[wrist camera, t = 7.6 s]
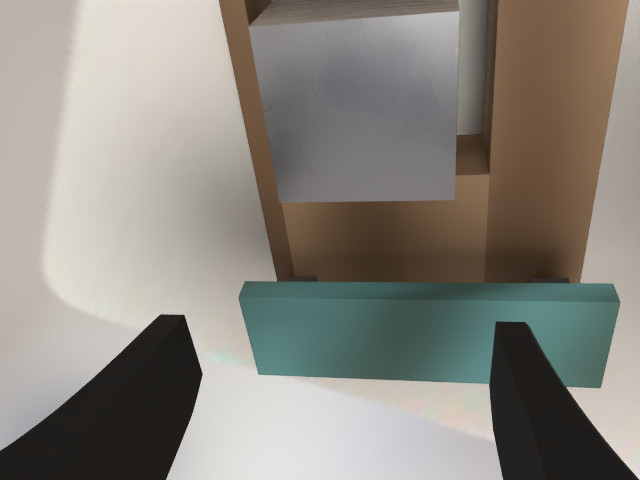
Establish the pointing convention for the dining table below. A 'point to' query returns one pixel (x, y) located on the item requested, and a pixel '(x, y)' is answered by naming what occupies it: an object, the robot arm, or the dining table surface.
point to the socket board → (452, 222)
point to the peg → (359, 98)
